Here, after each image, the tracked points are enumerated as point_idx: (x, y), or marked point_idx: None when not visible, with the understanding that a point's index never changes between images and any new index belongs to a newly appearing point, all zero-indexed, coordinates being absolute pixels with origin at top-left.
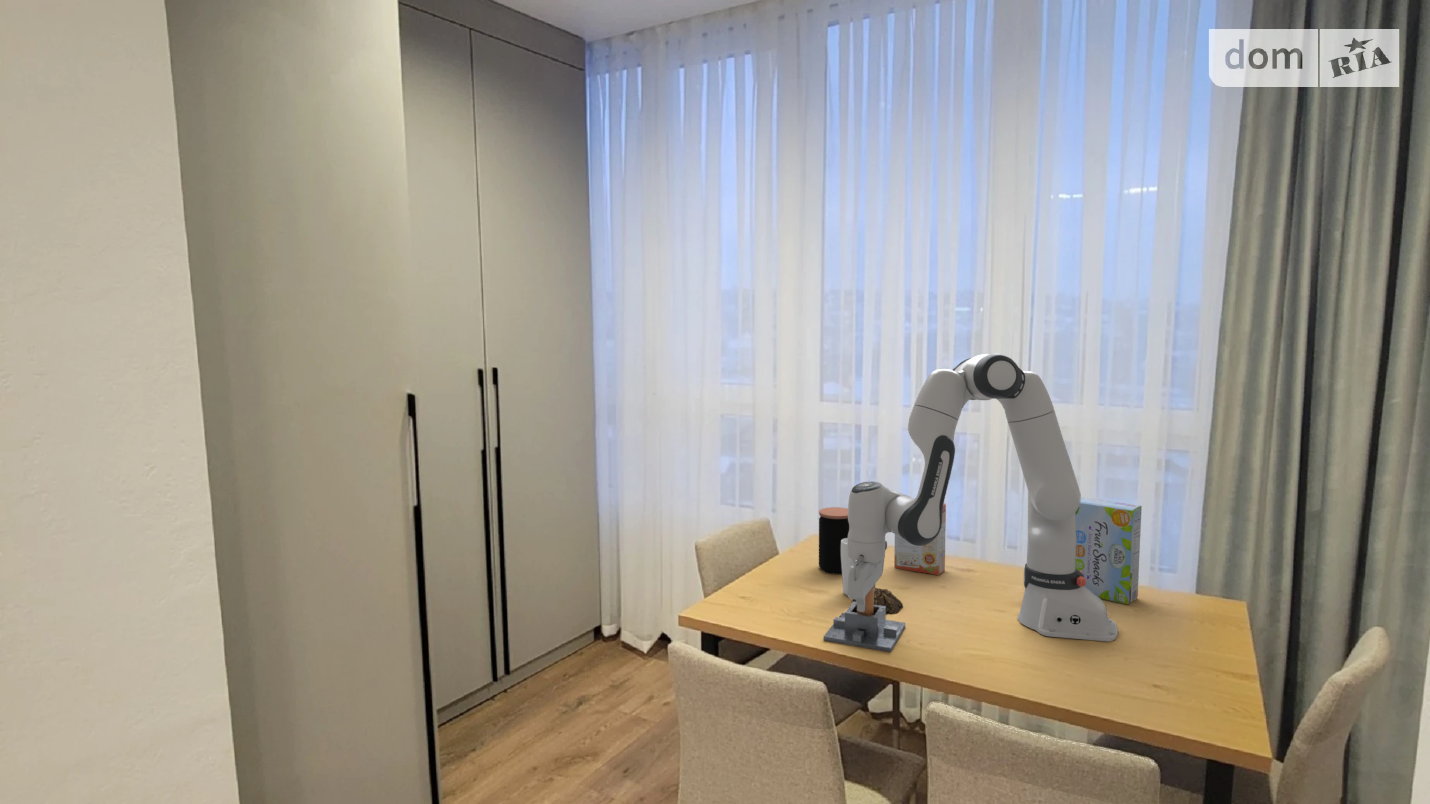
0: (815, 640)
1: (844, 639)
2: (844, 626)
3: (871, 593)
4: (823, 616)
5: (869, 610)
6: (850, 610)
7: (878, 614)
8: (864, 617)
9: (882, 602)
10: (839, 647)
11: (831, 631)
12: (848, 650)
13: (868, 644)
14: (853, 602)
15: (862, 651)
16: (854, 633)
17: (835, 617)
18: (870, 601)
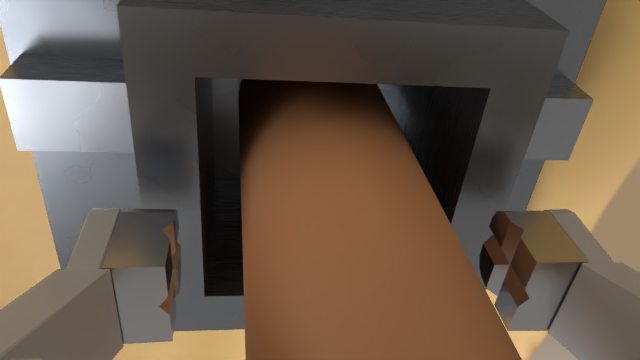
0: (491, 299)
1: (528, 185)
2: None
3: (476, 316)
4: (140, 351)
5: (415, 164)
6: None
7: (449, 46)
8: (513, 165)
9: None
10: (573, 180)
11: None
12: (616, 124)
13: (598, 17)
14: (182, 327)
15: (632, 37)
16: (544, 154)
17: None
18: (444, 230)
